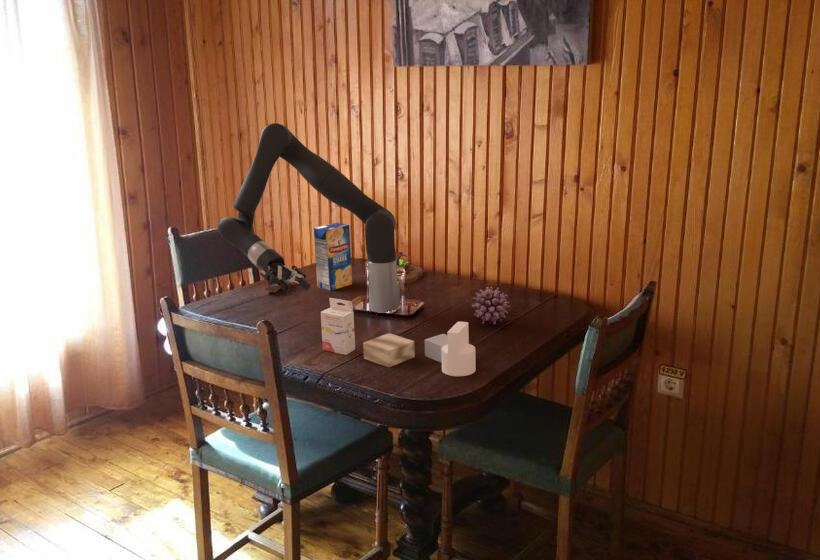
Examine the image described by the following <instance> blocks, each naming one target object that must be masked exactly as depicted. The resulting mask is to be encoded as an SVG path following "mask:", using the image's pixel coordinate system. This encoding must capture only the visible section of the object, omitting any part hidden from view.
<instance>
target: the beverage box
mask: <svg viewBox="0 0 820 560" xmlns="http://www.w3.org/2000/svg"><path fill="white" fill-rule="evenodd" d="M350 233H351V230H350V225H349V224H345V223H341V222H340V223H339V222H333V223H330V224H326V225H322V226H317V227H313V239H314V253H315V256H314V257H315V269H316V271H315V272H316V283H317V286H316V287H317V288H318V289H321V290H325V291H329V292H331V291H335V290H337V289H341V288H344V287H348V286H351V285H353V273H352V272H353V271H352V270H353V269H352V251H351V234H350Z"/></svg>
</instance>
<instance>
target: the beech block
mask: <svg viewBox="0 0 820 560" xmlns="http://www.w3.org/2000/svg"><path fill="white" fill-rule="evenodd" d="M362 345H363V359H364V360H366V361H367V360H368V361H369V362H372V363H376V364H378V365H381V366H384V367H387V368H391V367H393V366H396V365H398V364H401V363H404V362H406V361H408V360H411V359H413V358H415V355H416V354H415V353H416V352H415V340H412V339H408V338H406V337H403V336H400V335H396V334H393V333H390V332H389V333H385V334H382V335H380V336H377V337H375V338H371V339H369V340H367V341H364V342H363V343H362Z"/></svg>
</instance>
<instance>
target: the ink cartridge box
mask: <svg viewBox="0 0 820 560" xmlns="http://www.w3.org/2000/svg"><path fill="white" fill-rule="evenodd" d="M328 301H329V306H330V307H328V308H326V309H324V310H321V311H320V325H321V340H322V341H321V343H322V344H321V345H322V351H326V352H331V353H336V354H340V355H349V354H350V353H352V352H353V351H355V350H356V339H355V338H356V337H355V319H354V317H355V315H354V314H355V313H354V309H353V308H354V307H353V302H352V301H351V300H345V299H339V298H333V297H329V299H328ZM340 303H341V304H343V305H341V304H340Z"/></svg>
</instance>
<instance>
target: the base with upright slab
mask: <svg viewBox="0 0 820 560" xmlns="http://www.w3.org/2000/svg"><path fill="white" fill-rule="evenodd" d="M469 333H470V332H469V322H467V321H457V322H456V323H454V325H453V326H452V327H451V328H450V329H449V330H448V331H447V334H446V335H448V344H446V345H444V346H443V347H442V348H441V353H442V363H441V372H442V373H443V374H445V375H448V376H451V377H465V376H470V375H472V374H474V373H475V372H476V367H477V366H476V365H477V364H476V347H475V346H474V345H472V344H471V343H469V342H470V339H469Z"/></svg>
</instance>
